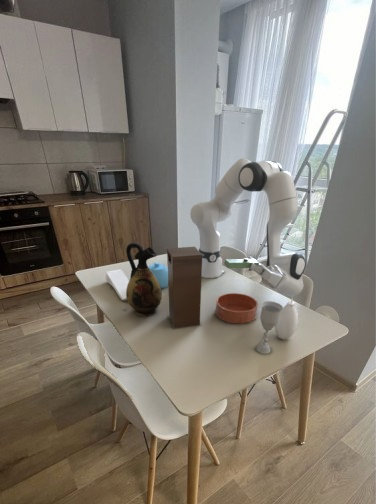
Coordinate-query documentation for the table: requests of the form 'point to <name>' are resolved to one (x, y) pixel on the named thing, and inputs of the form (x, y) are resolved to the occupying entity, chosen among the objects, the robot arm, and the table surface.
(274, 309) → the chalice
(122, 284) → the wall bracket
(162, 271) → the sugar bowl
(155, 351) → the table surface
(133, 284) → the ceramic jug
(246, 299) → the bowl
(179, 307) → the stand
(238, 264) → the green rectangular block
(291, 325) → the white tall oval piece
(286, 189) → the robot arm
